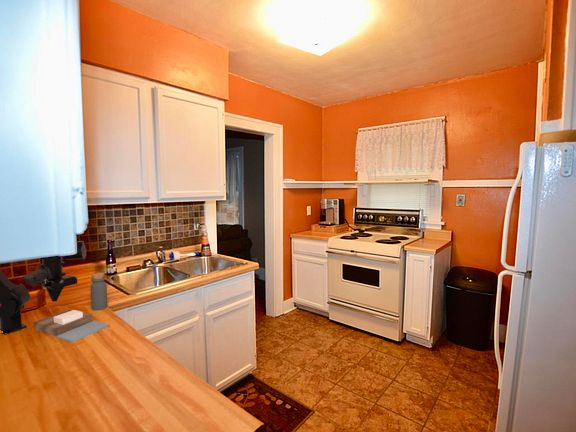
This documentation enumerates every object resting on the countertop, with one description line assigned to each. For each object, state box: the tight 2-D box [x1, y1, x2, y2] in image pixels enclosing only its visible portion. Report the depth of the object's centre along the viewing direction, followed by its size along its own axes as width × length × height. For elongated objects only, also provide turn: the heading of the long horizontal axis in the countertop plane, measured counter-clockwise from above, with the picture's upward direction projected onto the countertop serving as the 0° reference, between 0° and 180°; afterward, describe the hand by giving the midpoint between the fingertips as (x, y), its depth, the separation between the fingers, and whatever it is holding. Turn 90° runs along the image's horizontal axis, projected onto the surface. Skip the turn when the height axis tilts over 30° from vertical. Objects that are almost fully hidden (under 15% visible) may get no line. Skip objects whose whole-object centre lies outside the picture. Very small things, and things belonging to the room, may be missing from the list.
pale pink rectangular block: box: [54, 309, 84, 325], centre depth 108 cm, size 5×7×2 cm
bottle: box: [89, 271, 108, 311], centre depth 127 cm, size 6×6×15 cm
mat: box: [56, 320, 110, 343], centre depth 106 cm, size 8×13×1 cm, turn 158°
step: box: [33, 309, 93, 337], centre depth 110 cm, size 14×12×3 cm
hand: (54, 301), depth 111 cm, fingers closed
